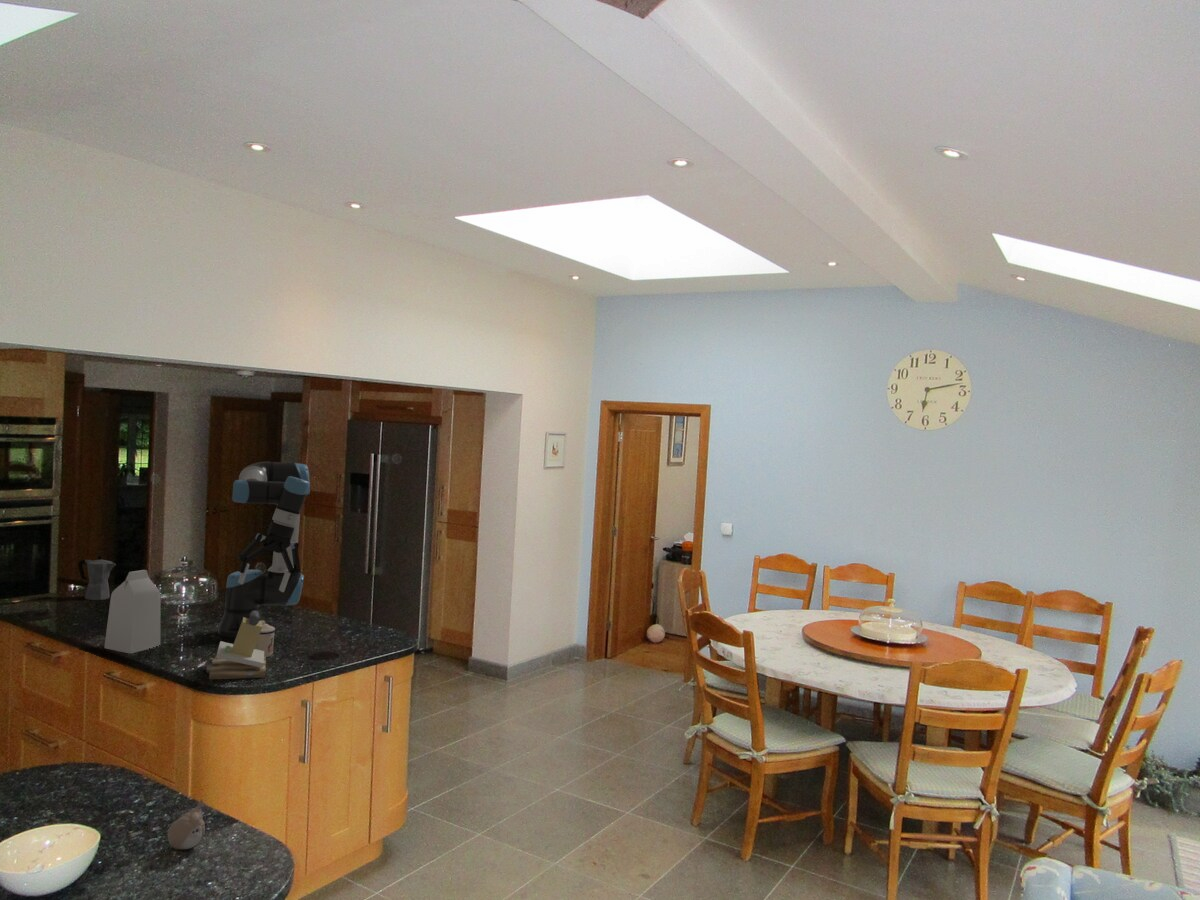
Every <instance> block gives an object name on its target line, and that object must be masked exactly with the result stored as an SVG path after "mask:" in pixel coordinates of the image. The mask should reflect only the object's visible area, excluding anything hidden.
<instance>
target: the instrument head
mask: <svg viewBox="0 0 1200 900" xmlns="http://www.w3.org/2000/svg"><path fill="white" fill-rule="evenodd" d="M259 617H260V613H259V610H258V611H256V610H254V611H252V612H251V613H250V619H249V618H245V617H243V620H242V623H241V625H240V628H239V631H238V634H237V636H236V638H234V639H235V640H234V641H233V643H232V642H231V643H229V642H225V641H222V640H221V641H220V642H219V644H218V648H217V652H216V656H215V658H220V659H224V660H229V661H233V662H238V663H242V664H247V665H252V666H256V667H261V668H262V667H263V665H264V651H261V650H257V649H254V648H255V645H256V643H257V640H258V637H259V634H260V632H261V629H262V622H261V621H262V620H260V621H259Z"/></svg>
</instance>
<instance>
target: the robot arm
mask: <svg viewBox="0 0 1200 900" xmlns="http://www.w3.org/2000/svg"><path fill="white" fill-rule="evenodd" d="M310 487H311V482H310V472H309V468H308V466H307V465H306V464H304V463H300V462H299V463H298V462H279V461H277V462H276V461H259V462H256V463H252V464H250V465H247V466H246V467H243V468H242V469H241V471H240V474H239V475H238V479H235V480H234V481H233V486H232V498H231V500H232V502H234V503H241V504H267V505H276V507H275V510H274V513H273V516H272V519H271V520H273V521H271V522H270V523H269V528H268V530H267V533H266V535H263V534H261V533H260V532H257V533H256V534H255V536H254V538H253V539H251V541H250V542H249V543H248V544H247V545H246V546H245V547H244V549H242V551H241V552H240V553H238V555H237V556H236V557H237V559H238V560H240V561H241V563H240V566H239V568H238V570H237V571H234V572H232V573H230V574H229V575H228V576H227V579H226V584H225V588H226V591H225V592H226V593H225V603H224V614H223V615H222V618H221V620H220V623H219V625H218V628H217V629H218V630H217V635H218V636H221V637H224V638H231V639H236V636H237V634H238V631H239V628H240V625H241V623H242V620H243V617H245V618H249V619H250V613H251V612H252V611H254V610H256V611H258V612H259V607H260V606H283V607H285V606H294V605H297V604H298V603H299V601H300V599H301V595H302V590H303V584H304V578H305V575H304V574H302V573H301V565H300V556H299V546H300V543H299V533H300V522H301V521H300V519H301V518H300V517H301V511H302V508H303V505H304V503H305V500H306V497H307V495H310V493H311V488H310ZM263 540H264V543H263V544H262V545H260V546H259V547H258V548H256V547H257V546H258V545H259V544H260V542H262V541H263ZM255 548H256V549H255ZM254 549H255V550H254ZM267 551H269V552H273V555H272V563H271V566H269V568H268V569H267V573H266V574H265V573H262V571H261V570H260V569H249V568H250V565H251V564H249V562H251V561H253V560H254V559H256V558H258V557H259V556H260V555H262V554H263V553H265V552H267ZM259 621H261V617H260V616H259Z"/></svg>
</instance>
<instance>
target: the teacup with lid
mask: <svg viewBox="0 0 1200 900" xmlns="http://www.w3.org/2000/svg"><path fill="white" fill-rule="evenodd" d="M260 621H261V622H262V629H261V632H260V634H259V637H258V640H257V643H256V645H255V648H254V649H257V650H261V651H264V657H266V658H268V657H272V656H273V654H274V644H275V642H274V641H275V632H276V628H275V627H274V626H273V625H269V624H268V623H266V621H265V620H260Z"/></svg>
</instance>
